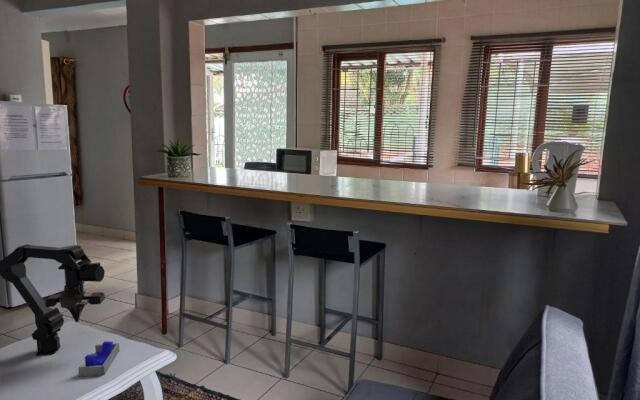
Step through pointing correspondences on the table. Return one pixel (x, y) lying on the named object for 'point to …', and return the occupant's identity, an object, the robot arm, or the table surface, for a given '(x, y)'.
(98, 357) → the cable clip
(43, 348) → the robot arm
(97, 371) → the grey u-shaped bracket
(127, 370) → the table surface
